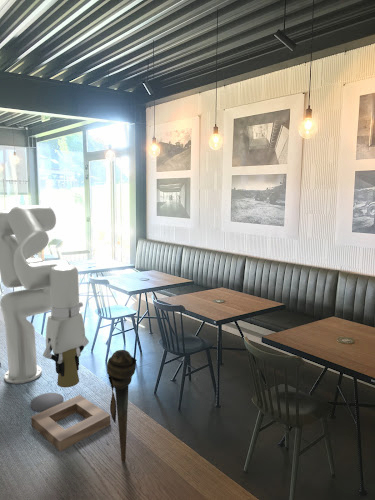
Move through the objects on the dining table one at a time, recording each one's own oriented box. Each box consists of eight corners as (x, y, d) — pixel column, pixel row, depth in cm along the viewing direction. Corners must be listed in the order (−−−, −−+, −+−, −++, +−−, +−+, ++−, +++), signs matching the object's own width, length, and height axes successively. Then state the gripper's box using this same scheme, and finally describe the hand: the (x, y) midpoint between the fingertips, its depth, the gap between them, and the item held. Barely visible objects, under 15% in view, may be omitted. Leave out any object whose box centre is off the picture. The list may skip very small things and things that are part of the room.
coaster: (24, 403, 125) (24, 401, 124) (53, 391, 132) (53, 389, 132) (39, 415, 118) (39, 414, 118) (69, 402, 125) (69, 400, 125)
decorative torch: (127, 448, 104) (125, 342, 98) (142, 462, 99) (140, 351, 93) (104, 460, 99) (100, 349, 94) (119, 475, 94) (115, 359, 89)
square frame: (31, 426, 113) (31, 416, 113) (80, 403, 125) (79, 394, 124) (60, 451, 102) (59, 441, 102) (110, 424, 114) (110, 415, 114)
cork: (72, 388, 108) (71, 351, 106) (53, 386, 109) (51, 349, 107) (82, 377, 114) (81, 342, 112) (63, 375, 115) (62, 340, 113)
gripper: (83, 300, 116) (85, 357, 120) (29, 314, 104) (33, 377, 107) (98, 306, 111) (100, 366, 115) (43, 321, 99) (46, 387, 102)
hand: (67, 371), depth 111 cm, fingers closed on cork, 3 cm apart
